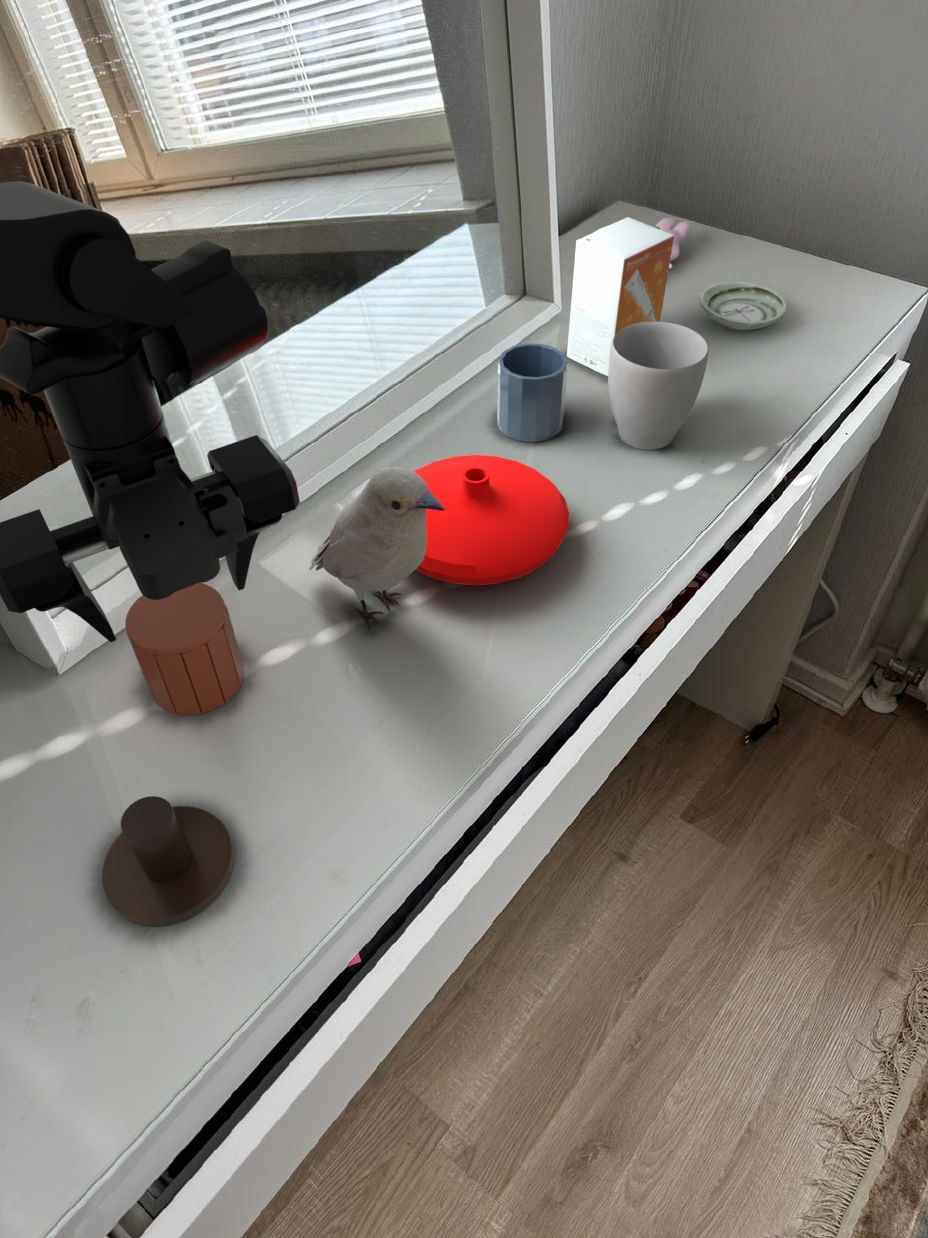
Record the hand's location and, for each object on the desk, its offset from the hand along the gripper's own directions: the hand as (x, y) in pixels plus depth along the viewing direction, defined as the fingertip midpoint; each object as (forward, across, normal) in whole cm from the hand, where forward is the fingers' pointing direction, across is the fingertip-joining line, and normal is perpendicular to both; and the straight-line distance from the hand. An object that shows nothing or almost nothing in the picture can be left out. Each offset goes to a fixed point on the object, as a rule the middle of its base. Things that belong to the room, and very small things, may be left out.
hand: (177, 611), depth 64 cm
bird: (+7, +15, -1) cm, 17 cm away
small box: (+7, +55, +20) cm, 59 cm away
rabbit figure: (+8, +73, +34) cm, 81 cm away
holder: (+7, -7, -14) cm, 17 cm away
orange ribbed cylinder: (+7, 0, 0) cm, 7 cm away
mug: (+7, +50, +7) cm, 51 cm away
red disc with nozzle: (+7, +26, +2) cm, 27 cm away
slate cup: (+7, +40, +14) cm, 43 cm away
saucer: (+8, +72, +18) cm, 74 cm away
